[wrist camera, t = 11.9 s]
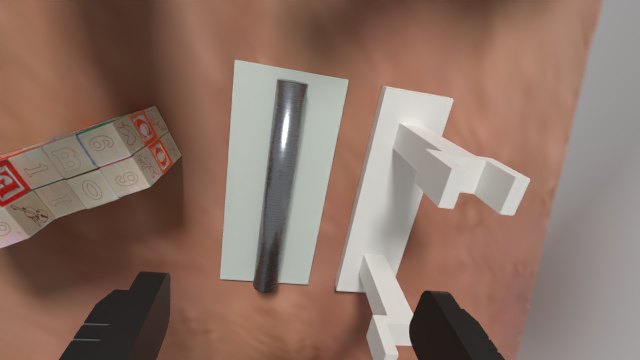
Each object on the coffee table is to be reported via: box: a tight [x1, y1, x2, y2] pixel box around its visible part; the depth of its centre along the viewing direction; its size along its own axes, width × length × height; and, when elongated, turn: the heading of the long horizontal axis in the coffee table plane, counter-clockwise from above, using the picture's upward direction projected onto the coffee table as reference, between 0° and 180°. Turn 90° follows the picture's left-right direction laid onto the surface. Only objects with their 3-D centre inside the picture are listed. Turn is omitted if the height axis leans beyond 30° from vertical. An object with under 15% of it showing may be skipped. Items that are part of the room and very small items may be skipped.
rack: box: [335, 86, 530, 360], centre depth 33 cm, size 8×28×16 cm, turn 170°
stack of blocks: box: [0, 105, 181, 249], centre depth 29 cm, size 21×6×12 cm, turn 107°
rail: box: [253, 79, 308, 293], centre depth 37 cm, size 26×3×3 cm, turn 170°
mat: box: [220, 60, 349, 284], centre depth 38 cm, size 12×28×1 cm, turn 170°
